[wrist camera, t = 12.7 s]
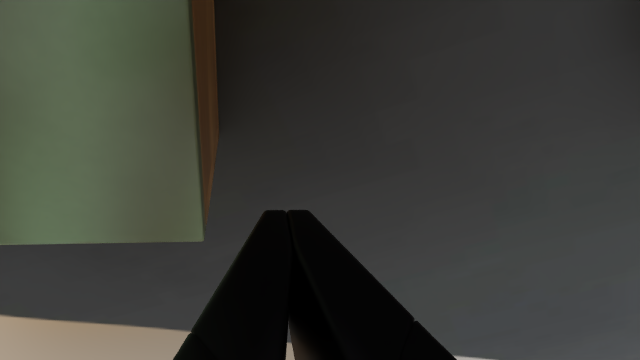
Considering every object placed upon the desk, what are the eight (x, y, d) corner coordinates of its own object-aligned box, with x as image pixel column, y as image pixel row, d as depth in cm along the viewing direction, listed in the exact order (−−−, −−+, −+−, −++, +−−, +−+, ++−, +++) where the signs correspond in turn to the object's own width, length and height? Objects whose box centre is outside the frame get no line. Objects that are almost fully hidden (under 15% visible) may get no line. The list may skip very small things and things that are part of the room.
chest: (-46, 130, 19) (-184, 232, 13) (-195, -256, 13) (-607, -412, 7) (219, 135, 21) (206, 226, 15) (206, -199, 15) (174, -280, 9)
